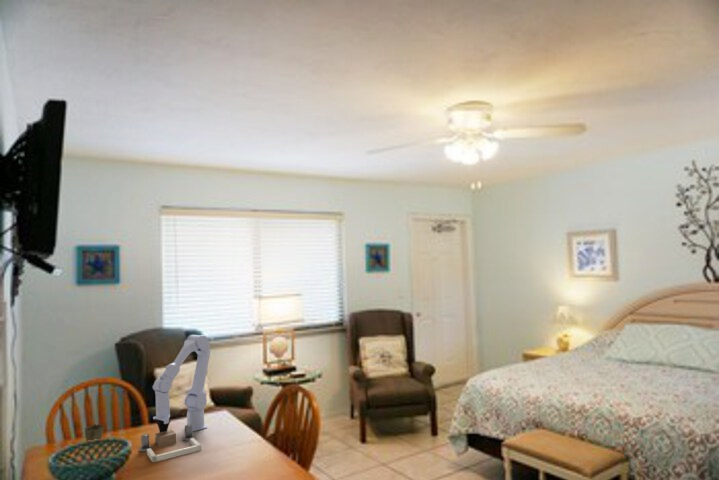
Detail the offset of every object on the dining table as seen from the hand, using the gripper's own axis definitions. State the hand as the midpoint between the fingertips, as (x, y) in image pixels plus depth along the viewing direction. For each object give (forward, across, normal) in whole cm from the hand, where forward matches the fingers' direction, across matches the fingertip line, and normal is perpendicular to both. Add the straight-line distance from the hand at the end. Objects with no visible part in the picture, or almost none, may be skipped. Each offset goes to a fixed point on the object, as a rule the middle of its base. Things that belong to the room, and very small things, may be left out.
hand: (163, 436), depth 214 cm
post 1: (+2, +8, -9) cm, 12 cm away
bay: (+1, +20, 0) cm, 20 cm away
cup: (+2, -15, -26) cm, 30 cm away
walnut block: (+2, +5, 0) cm, 5 cm away
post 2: (+1, +8, +9) cm, 12 cm away
